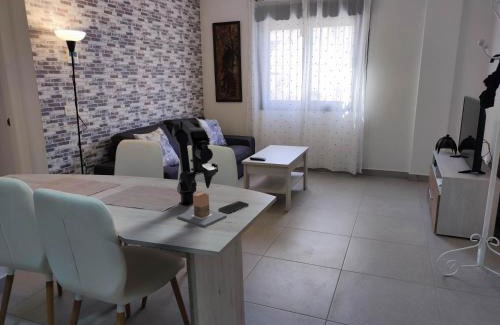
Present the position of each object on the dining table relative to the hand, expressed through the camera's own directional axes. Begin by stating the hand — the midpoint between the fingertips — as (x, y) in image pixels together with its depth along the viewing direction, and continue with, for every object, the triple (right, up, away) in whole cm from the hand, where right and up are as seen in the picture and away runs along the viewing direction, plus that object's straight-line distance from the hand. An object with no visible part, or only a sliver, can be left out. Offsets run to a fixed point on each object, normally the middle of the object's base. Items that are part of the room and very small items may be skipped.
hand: (200, 190), depth 159 cm
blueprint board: (0, -13, +3) cm, 13 cm away
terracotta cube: (0, -7, +2) cm, 7 cm away
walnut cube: (0, -12, +3) cm, 12 cm away
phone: (+15, -10, +14) cm, 23 cm away
